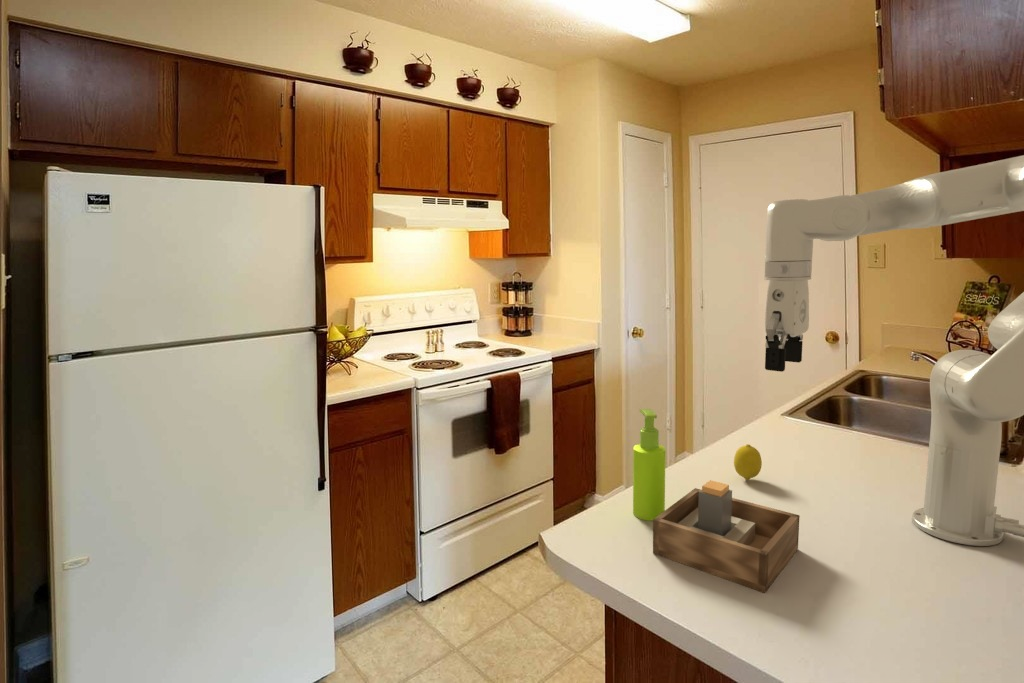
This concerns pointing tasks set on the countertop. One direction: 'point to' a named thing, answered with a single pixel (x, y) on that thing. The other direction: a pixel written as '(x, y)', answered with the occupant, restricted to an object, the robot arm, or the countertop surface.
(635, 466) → the soap dispenser
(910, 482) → the countertop surface
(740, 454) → the lemon
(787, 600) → the countertop surface
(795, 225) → the robot arm
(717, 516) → the plug
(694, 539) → the crate
